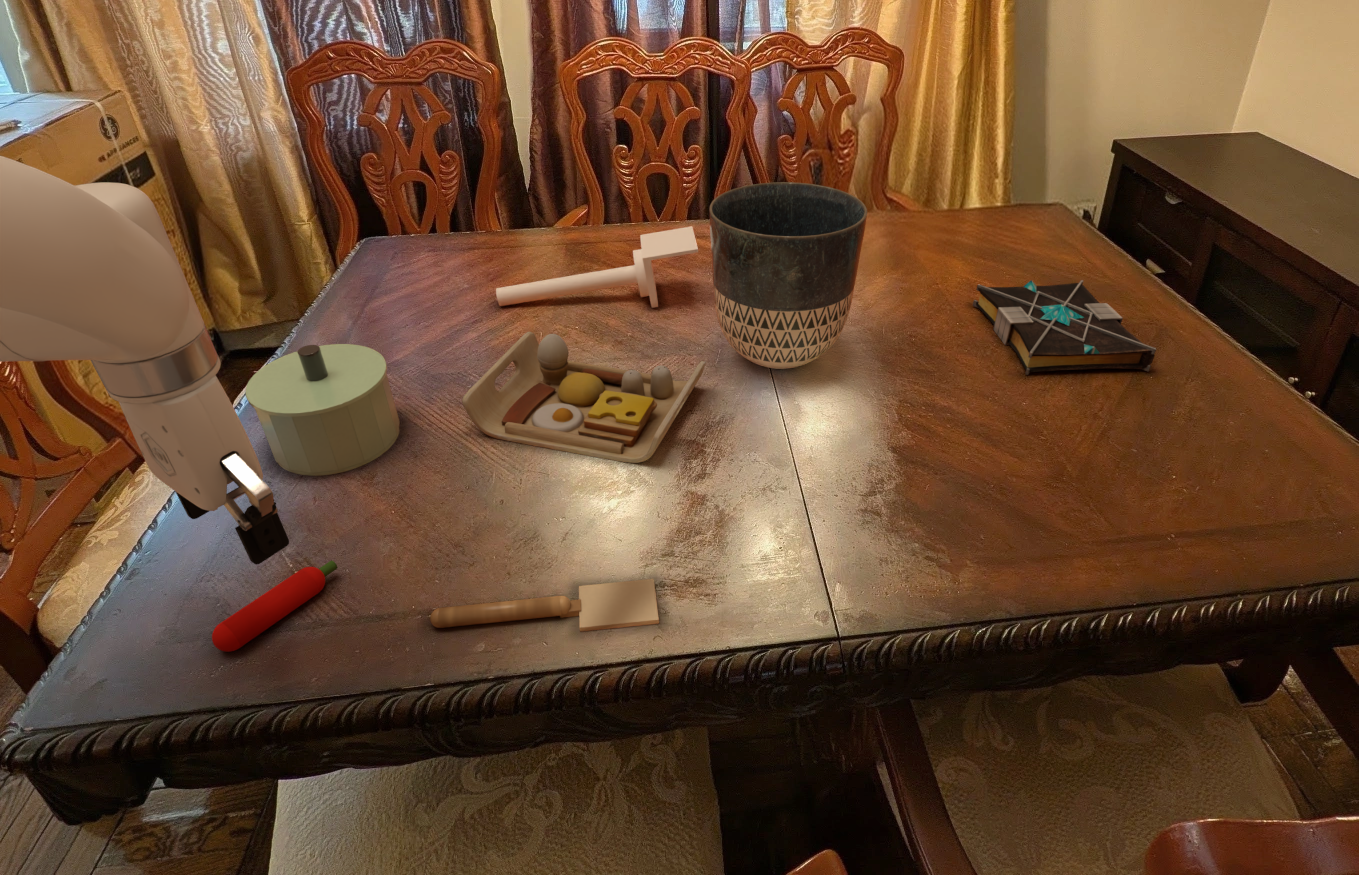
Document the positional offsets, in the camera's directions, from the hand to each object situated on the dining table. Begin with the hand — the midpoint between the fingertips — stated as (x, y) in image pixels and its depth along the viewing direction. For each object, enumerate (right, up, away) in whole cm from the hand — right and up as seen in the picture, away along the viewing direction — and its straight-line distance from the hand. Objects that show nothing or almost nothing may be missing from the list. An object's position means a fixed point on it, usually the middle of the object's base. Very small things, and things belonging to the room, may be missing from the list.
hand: (238, 530), depth 69 cm
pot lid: (-4, +15, +24) cm, 29 cm away
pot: (-4, +8, +29) cm, 31 cm away
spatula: (+26, -8, +6) cm, 28 cm away
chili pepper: (0, -9, +6) cm, 11 cm away
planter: (+52, +19, +43) cm, 70 cm away
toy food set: (+27, +11, +33) cm, 44 cm away
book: (+92, +22, +47) cm, 106 cm away
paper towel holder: (+25, +30, +59) cm, 71 cm away
